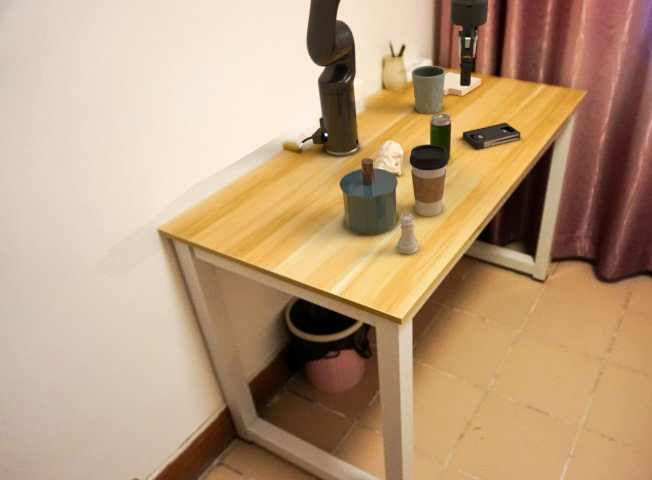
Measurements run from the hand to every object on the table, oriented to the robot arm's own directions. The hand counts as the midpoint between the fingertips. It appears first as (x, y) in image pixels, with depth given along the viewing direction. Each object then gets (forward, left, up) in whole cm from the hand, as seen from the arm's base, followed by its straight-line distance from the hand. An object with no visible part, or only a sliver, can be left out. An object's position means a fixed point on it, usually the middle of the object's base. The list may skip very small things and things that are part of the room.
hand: (465, 78), depth 117 cm
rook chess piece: (-5, -29, -27) cm, 40 cm away
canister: (-16, -21, -26) cm, 37 cm away
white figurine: (-19, -2, -27) cm, 33 cm away
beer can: (-8, +11, -27) cm, 30 cm away
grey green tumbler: (-20, +44, -27) cm, 55 cm away
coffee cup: (-5, -13, -27) cm, 30 cm away
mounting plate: (-16, +65, -27) cm, 72 cm away
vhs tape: (+3, +27, -27) cm, 38 cm away
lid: (-16, -21, -17) cm, 31 cm away
